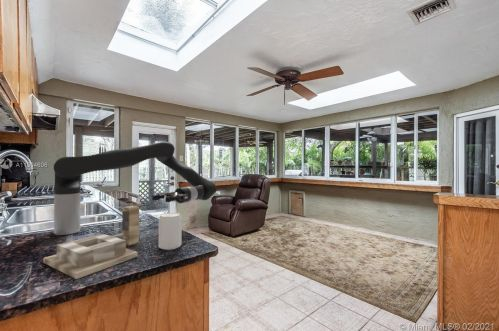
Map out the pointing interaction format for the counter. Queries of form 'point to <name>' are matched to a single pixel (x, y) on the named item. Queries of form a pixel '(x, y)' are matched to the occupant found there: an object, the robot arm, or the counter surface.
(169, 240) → the beverage can
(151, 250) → the counter surface
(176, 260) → the counter surface
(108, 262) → the wooden socket base
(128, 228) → the tan long rectangular block
